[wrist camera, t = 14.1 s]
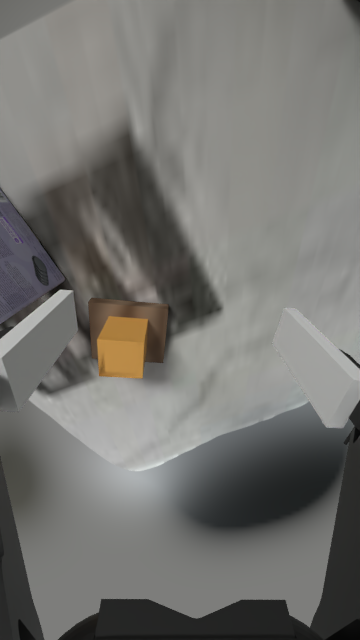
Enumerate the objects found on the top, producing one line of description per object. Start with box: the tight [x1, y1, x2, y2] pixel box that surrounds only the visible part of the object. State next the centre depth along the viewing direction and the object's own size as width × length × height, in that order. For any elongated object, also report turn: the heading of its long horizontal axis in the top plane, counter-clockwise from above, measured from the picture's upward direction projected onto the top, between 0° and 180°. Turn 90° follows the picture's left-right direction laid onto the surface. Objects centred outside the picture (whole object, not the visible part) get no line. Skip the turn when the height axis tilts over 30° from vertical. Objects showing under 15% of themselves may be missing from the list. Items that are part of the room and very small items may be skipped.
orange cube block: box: [97, 316, 148, 378], centre depth 41 cm, size 7×7×8 cm
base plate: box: [88, 298, 168, 363], centre depth 45 cm, size 14×12×2 cm
